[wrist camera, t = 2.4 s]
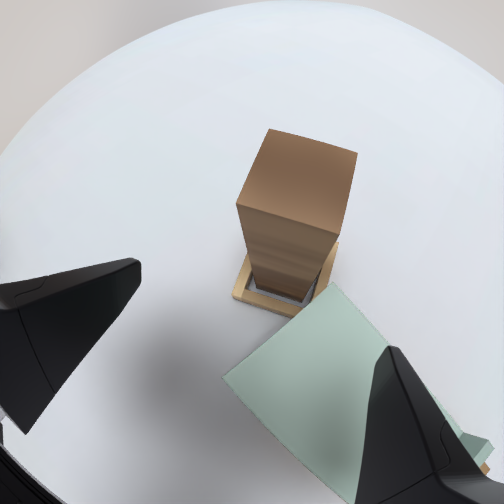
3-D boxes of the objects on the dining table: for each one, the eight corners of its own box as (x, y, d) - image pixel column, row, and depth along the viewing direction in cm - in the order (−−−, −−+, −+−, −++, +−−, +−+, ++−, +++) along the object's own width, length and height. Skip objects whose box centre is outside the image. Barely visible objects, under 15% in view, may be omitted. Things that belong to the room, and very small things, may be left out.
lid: (376, 522, 12) (393, 547, 8) (223, 376, 16) (210, 382, 13) (464, 438, 13) (494, 448, 10) (330, 284, 18) (344, 267, 14)
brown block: (301, 302, 21) (339, 234, 9) (256, 288, 22) (235, 203, 10) (314, 259, 22) (357, 153, 10) (271, 245, 23) (269, 128, 11)
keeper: (312, 324, 21) (315, 322, 19) (234, 298, 22) (231, 294, 20) (334, 249, 22) (338, 242, 21) (261, 226, 23) (260, 218, 22)
